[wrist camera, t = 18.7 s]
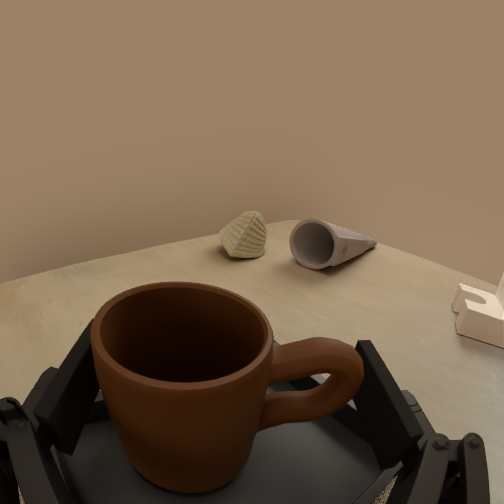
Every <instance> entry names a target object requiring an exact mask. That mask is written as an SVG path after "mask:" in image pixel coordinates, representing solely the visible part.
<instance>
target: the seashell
mask: <svg viewBox="0 0 504 504" xmlns="http://www.w3.org/2000/svg"><path fill="white" fill-rule="evenodd" d="M266 231H267V230H266V225H265V222H264V219H263V218H262V216H261V214H260V213H259V212H255V211H252V212H246V213H243V214H242V215H239V216H238V217H237V218H235V220H233V221H232V222H231V223H230V224H229V225H227V226H226V227H225V228H223V229H222V230H221V231H220V240H221V243H222V245H223V247H224V249H225V250H226V251H227V253H228V254H229V256H230V257H237V258H256V257H259V256H261V255H263V253H264V251H265V241H266Z"/></svg>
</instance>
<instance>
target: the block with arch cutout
mask: <svg viewBox="0 0 504 504" xmlns="http://www.w3.org/2000/svg"><path fill="white" fill-rule="evenodd" d="M452 307H453V311H454V312H457V313H459V314H458V317H457V319H456V321H455V324H456V330H457V333H458V334H461V335H464V336H467V337H470V338H474V339H477V340H480V341H483V342H486V343H489V344H493V345H496V346H499V347H502V348H504V273H503V276H502V278H501V281H500V283H499V286H498V289H497V291H496V294H495V295H493V294H490V293H487V292H484V291H482V290H479V289H476V288H473V287H470V286H467V285H464V284H461V283H460V284H459V286H458V289H457V292H456V295H455V297H454V300H453V302H452Z"/></svg>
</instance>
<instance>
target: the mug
mask: <svg viewBox="0 0 504 504" xmlns="http://www.w3.org/2000/svg"><path fill="white" fill-rule="evenodd" d="M90 338H91V345H92V351H93V358H94V365H95V370H96V375H97V379H98V383H99V386H100V389H101V393H102V396H103V399H104V402H105V404H106V407H107V410H108V413H109V416H110V418H111V421H112V424H113V426H114V429H115V431H116V433H117V435H118V438H119V440H120V442H121V445H122V447H123V449H124V451H125V453H126V455H127V457H128V459H129V461H130V462H131V464H132V465H133V466H134V468H135V469H136V470H137V471H138V472H139V473H140V474H141V475H142V476H143V477H145V478H146V479H147V480H149V481H150V482H152V483H153V484H155V485H157V486H159V487H161V488H164V489H167V490H170V491H174V492H179V493H204V492H208V491H212V490H215V489H217V488H220V487H222V486H224V485H226V484H228V483H229V482H230V481H232V480H233V479H234V478H235V477H236V476H237V475H238V474H239V473H240V472H241V471H242V469H243V468H244V467H245V465H246V463H247V461H248V459H249V456H250V453H251V450H252V446H253V442H254V438H255V435H256V433H258V432H260V431H262V430H265V429H268V428H271V427H276V426H279V425H282V424H285V423H301V422H309V421H314V420H318V419H321V418H324V417H326V416H329V415H331V414H333V413H335V412H336V411H338V410H339V409H341V408H342V407H344V406H345V405H346V404H347V403H348V402H349V401H350V400H351V399H352V398H353V397H354V396H355V394H356V393H357V392H358V390H359V388H360V386H361V383H362V380H363V377H364V368H363V360H362V358H361V357H360V355H359V354H358V352H357V351H356V350H355V349H354V347H353V346H351V345H349V344H346V343H344V342H342V341H339V340H336V339H330V338H324V337H314V338H309V339H305V340H301V341H296V342H292V343H288V344H284V345H278V346H273V342H274V336H273V331H272V328H271V326H270V323H269V321H268V319H267V318H266V316H265V314H264V313H263V312H262V311H261V310H260V309H259V308H258V307H257V306H256V305H254V304H253V303H252V302H250V301H249V300H247V299H245V298H244V297H242V296H240V295H238V294H236V293H233V292H231V291H228V290H225V289H222V288H219V287H215V286H211V285H206V284H200V283H192V282H160V283H152V284H147V285H142V286H139V287H135V288H132V289H129V290H126V291H124V292H122V293H120V294H118V295H116V296H115V297H113V298H111V299H110V300H109V301H107V302H106V303H105V304H104V305H103V306H102V307H101V308H100V310H99V311H98V312H97V314H96V316H95V318H94V320H93V323H92V327H91V335H90ZM323 373H328V374H331V375H330V376H329V377H328V379H327V380H326V381H325V382H323V383H322V384H321V385H319V386H317V387H315V388H313V389H310V390H305V391H282V392H275V393H270V394H267V395H266V391H267V388H268V387H269V386H270V385H273V384H276V383H280V382H285V381H290V380H295V379H299V378H304V377H308V376H312V375H316V374H323Z"/></svg>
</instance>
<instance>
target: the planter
mask: <svg viewBox="0 0 504 504" xmlns="http://www.w3.org/2000/svg"><path fill="white" fill-rule="evenodd" d="M376 244H377V242H376V241H375V240H374V239H372V238H370V237H367V236H364V235H361V234H359V233H356V232H353V231H350V230H347V229H344V228H341V227H338V226H335V225H333V224H330V223H327V222H324V221H321V220H318V219H307V220H304V221H302V222H300V223H298V224H297V225H296V226H295V228H294V229H293V231H292V233H291V236H290V249H291V252H292V254H293V256H294V258H295V259H296V260H297V261H298V262H299V263H300V264H301V265H303V266H304V267H307V268H310V269H322V268H325V267H327V266H330V265H331V266H336V265H338V264H340V263H342V262H345V261H347V260H349V259H351V258H353V257H355V256H357V255H360V254H362V253H364V252H365V250H368V249H370V248H373V247H374V246H376Z"/></svg>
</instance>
